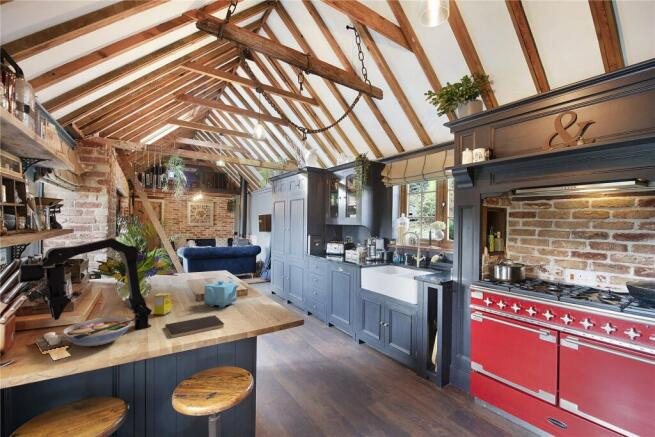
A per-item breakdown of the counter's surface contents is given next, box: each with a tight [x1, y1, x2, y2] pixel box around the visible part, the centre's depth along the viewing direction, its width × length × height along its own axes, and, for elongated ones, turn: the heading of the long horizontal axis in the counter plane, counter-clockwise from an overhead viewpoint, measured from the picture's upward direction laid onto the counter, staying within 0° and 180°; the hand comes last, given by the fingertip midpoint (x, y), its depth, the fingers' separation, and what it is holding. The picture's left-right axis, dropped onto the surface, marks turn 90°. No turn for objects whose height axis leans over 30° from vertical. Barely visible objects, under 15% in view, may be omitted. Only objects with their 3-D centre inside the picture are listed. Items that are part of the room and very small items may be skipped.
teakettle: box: [203, 279, 241, 309], centre depth 179 cm, size 19×19×15 cm
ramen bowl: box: [62, 316, 139, 347], centre depth 123 cm, size 25×23×8 cm
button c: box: [43, 331, 56, 340], centre depth 124 cm, size 3×3×2 cm
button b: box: [46, 335, 58, 343], centre depth 121 cm, size 3×3×2 cm
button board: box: [34, 332, 71, 352], centre depth 121 cm, size 17×8×2 cm, turn 52°
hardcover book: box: [164, 315, 225, 339], centre depth 142 cm, size 16×23×2 cm
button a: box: [49, 338, 61, 346], centre depth 118 cm, size 3×3×2 cm
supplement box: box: [153, 292, 172, 317], centre depth 162 cm, size 6×6×11 cm
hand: (55, 318), depth 118 cm, fingers open, 4 cm apart
